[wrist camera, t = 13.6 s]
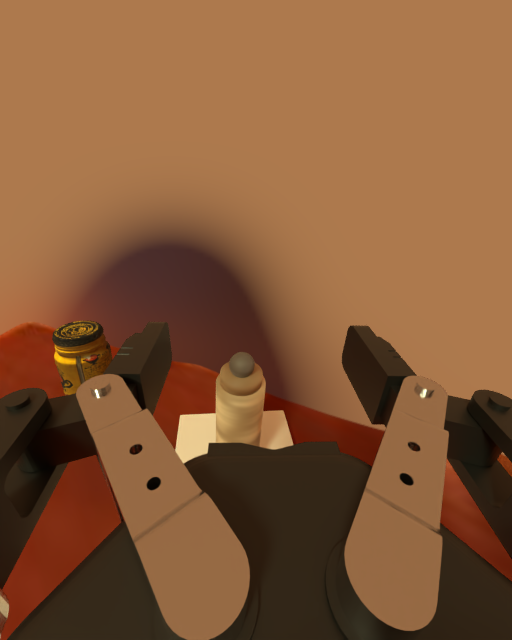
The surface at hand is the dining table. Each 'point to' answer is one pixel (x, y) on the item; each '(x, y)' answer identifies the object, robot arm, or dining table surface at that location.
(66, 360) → the condiment
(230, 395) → the pepper mill
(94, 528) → the dining table surface
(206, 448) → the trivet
